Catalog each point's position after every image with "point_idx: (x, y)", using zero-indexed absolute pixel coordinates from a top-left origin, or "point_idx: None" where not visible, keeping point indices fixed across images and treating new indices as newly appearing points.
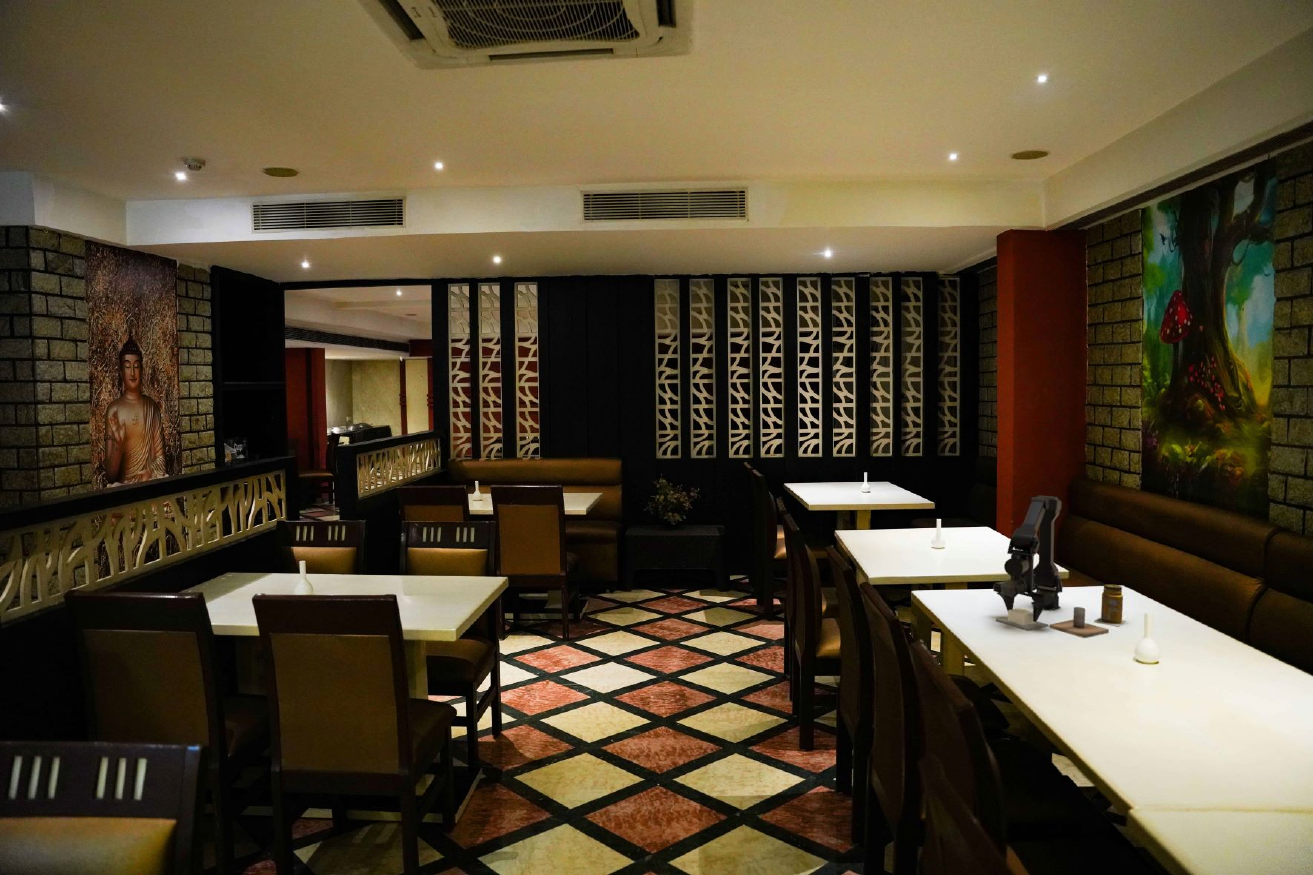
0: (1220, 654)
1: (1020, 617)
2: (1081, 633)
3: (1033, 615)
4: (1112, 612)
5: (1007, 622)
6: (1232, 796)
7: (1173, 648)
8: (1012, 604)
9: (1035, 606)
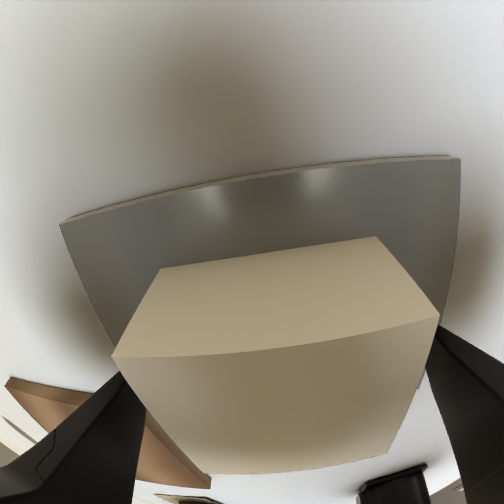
0: (6, 439)
1: (184, 311)
2: (15, 391)
3: (96, 407)
4: None
5: (321, 171)
6: None
7: (8, 430)
8: (457, 436)
9: (5, 477)
